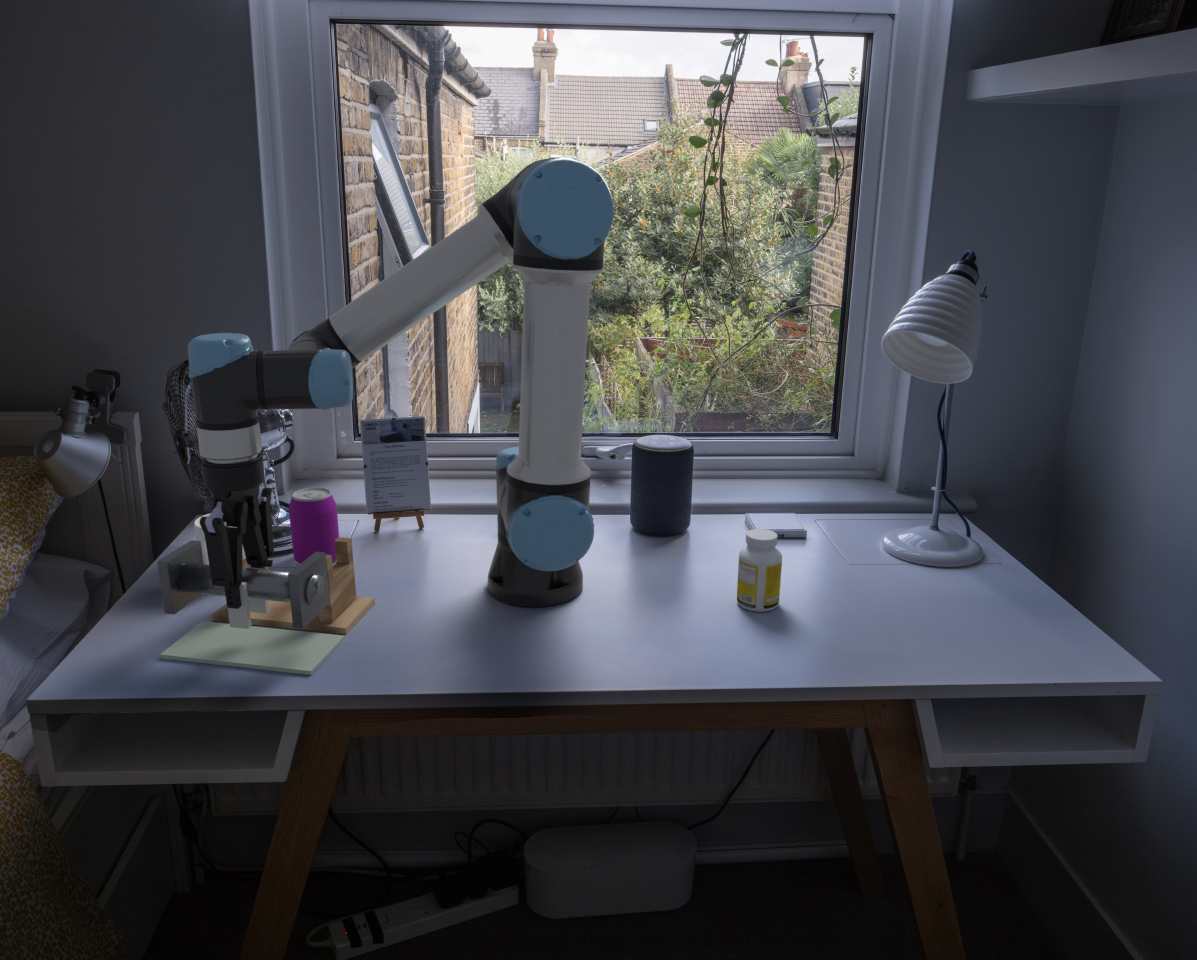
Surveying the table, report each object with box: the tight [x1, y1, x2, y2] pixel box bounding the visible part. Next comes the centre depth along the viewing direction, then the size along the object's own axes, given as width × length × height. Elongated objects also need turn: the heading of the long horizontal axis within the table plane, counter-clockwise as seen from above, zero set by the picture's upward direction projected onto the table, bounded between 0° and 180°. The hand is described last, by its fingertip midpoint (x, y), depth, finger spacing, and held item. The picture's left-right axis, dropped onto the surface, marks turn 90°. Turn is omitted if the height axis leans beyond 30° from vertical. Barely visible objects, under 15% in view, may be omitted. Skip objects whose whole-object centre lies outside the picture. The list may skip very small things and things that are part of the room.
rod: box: [156, 539, 329, 628], centre depth 125 cm, size 21×8×8 cm, turn 79°
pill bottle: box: [736, 528, 783, 613], centre depth 141 cm, size 6×6×12 cm
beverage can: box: [288, 487, 340, 565], centre depth 156 cm, size 8×8×12 cm
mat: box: [159, 620, 346, 676], centre depth 128 cm, size 22×10×1 cm, turn 79°
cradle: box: [211, 536, 376, 635], centre depth 137 cm, size 21×10×11 cm, turn 79°
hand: (250, 618), depth 127 cm, fingers closed on rod, 4 cm apart
